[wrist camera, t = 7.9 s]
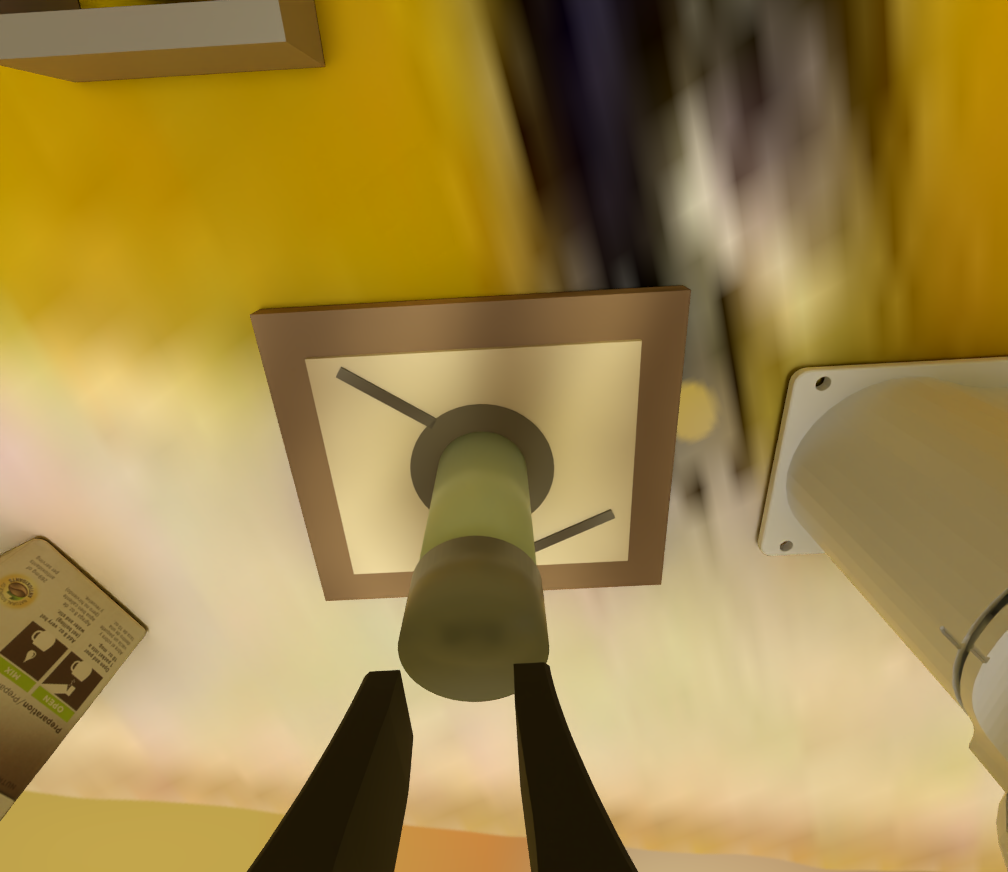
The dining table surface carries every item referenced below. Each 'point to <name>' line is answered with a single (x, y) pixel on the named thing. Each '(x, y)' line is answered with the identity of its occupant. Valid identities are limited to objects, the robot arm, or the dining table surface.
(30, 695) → the coffee box
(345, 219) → the dining table surface
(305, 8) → the button housing
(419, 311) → the brown picture frame
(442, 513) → the marker
